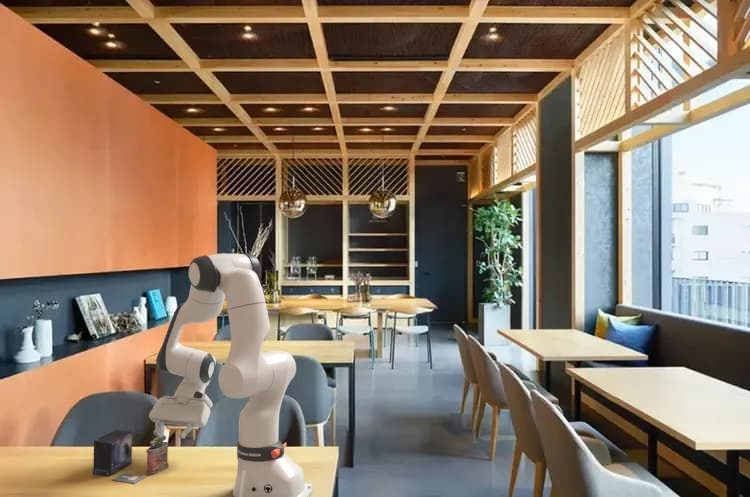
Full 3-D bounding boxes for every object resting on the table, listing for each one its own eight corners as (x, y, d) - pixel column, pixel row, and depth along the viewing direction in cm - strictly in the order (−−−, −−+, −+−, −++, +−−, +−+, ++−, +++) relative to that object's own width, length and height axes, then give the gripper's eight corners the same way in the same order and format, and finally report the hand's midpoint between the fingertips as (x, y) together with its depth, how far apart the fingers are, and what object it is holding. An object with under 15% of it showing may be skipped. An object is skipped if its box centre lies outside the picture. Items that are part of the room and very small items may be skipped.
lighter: (152, 476, 163) (152, 443, 163) (143, 474, 164) (143, 441, 164) (170, 466, 171) (171, 434, 171) (162, 464, 172) (162, 433, 172)
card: (146, 476, 162) (146, 475, 162) (134, 483, 158) (134, 482, 158) (124, 473, 165) (124, 472, 165) (112, 480, 160) (112, 479, 160)
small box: (110, 476, 162) (111, 442, 162) (91, 475, 164) (92, 440, 164) (133, 463, 173) (133, 430, 173) (115, 461, 174) (115, 429, 174)
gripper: (157, 390, 183) (136, 428, 173) (209, 395, 177) (191, 434, 168) (165, 399, 187) (146, 437, 178) (217, 405, 181) (200, 444, 172)
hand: (168, 436), depth 172 cm, fingers open, 8 cm apart
